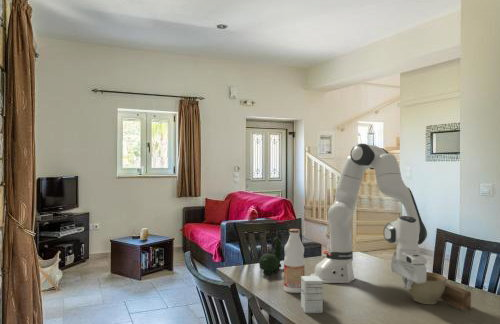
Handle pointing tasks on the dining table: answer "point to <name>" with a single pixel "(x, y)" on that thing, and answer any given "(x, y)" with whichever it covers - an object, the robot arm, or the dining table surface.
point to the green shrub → (272, 259)
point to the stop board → (456, 297)
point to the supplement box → (311, 294)
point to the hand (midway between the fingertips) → (407, 288)
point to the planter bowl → (429, 289)
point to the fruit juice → (293, 262)
